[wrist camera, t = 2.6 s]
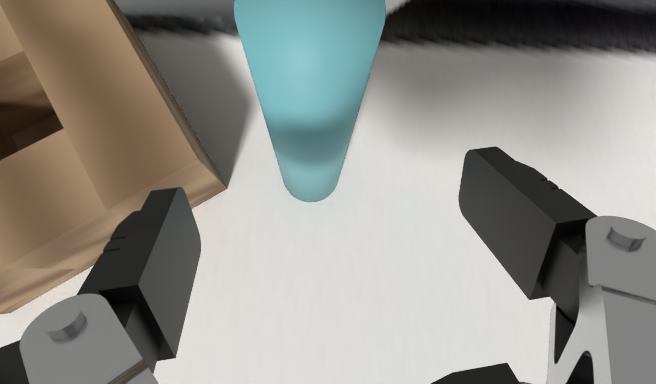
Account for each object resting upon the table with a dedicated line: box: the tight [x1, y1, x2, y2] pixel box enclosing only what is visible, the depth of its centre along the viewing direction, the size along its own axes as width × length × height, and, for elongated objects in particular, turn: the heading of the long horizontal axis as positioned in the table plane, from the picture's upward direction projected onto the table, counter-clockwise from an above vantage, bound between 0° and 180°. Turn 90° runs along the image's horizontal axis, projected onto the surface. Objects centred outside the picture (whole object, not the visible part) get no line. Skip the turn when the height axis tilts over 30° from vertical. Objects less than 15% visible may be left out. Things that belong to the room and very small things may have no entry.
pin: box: [234, 0, 386, 202], centre depth 16 cm, size 4×4×15 cm
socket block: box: [0, 0, 227, 314], centre depth 20 cm, size 14×14×6 cm
